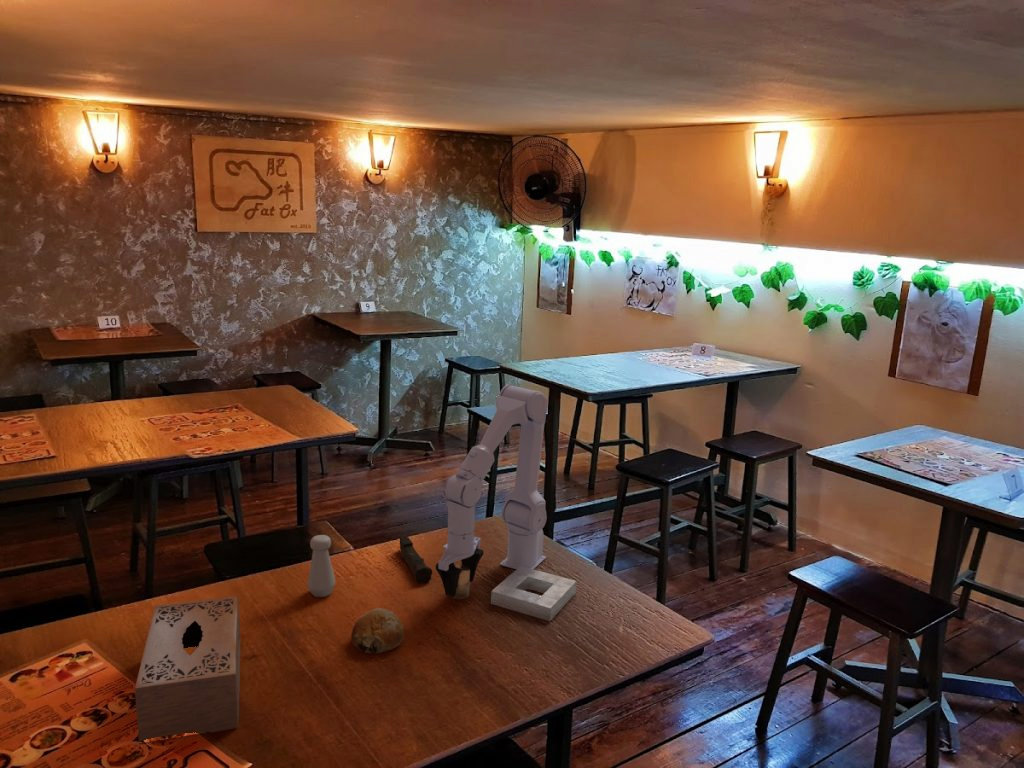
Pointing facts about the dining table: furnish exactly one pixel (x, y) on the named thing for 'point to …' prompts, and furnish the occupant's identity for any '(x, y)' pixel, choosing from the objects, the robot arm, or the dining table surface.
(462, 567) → the cylinder
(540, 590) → the square stone frame
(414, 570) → the hand tool
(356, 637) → the bread roll
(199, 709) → the tissue box cover
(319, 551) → the salt shaker
